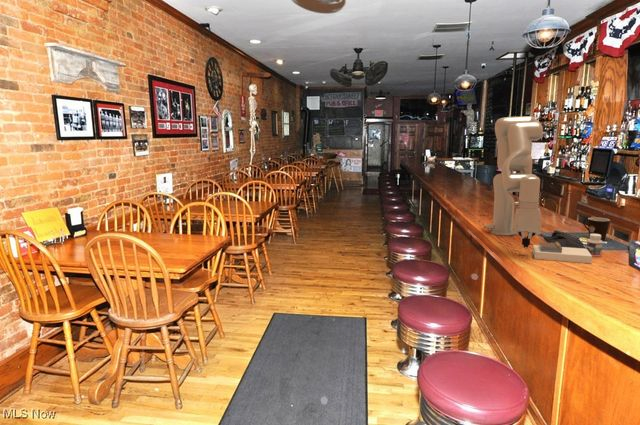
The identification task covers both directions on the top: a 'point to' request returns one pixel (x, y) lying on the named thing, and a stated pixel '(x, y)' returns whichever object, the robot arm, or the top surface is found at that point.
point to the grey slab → (550, 247)
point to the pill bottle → (594, 245)
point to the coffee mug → (597, 226)
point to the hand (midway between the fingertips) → (525, 246)
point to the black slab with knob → (565, 240)
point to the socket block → (564, 255)
